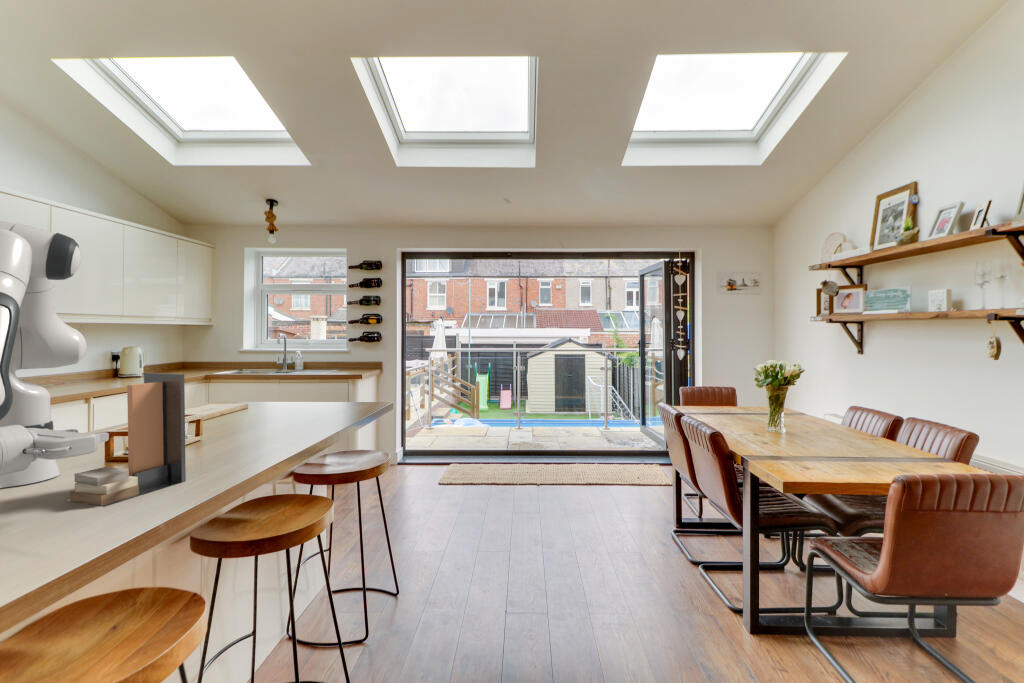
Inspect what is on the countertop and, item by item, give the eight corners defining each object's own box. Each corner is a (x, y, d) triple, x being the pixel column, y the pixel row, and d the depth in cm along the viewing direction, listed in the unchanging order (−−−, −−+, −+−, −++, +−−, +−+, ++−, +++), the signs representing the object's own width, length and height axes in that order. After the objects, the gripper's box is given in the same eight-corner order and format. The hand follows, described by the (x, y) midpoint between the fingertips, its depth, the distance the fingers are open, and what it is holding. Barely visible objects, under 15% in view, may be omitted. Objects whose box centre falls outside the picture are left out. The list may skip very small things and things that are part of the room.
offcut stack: (101, 505, 102) (101, 479, 102) (70, 500, 105) (69, 474, 105) (139, 493, 110) (139, 469, 110) (109, 489, 113) (109, 465, 113)
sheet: (133, 489, 113) (132, 385, 112) (128, 489, 113) (127, 385, 112) (163, 481, 119) (162, 382, 119) (158, 480, 120) (157, 382, 119)
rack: (104, 513, 102) (102, 381, 101) (65, 507, 106) (63, 379, 105) (185, 487, 119) (184, 374, 118) (149, 482, 123) (148, 372, 122)
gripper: (44, 436, 88) (125, 423, 102) (-26, 429, 95) (59, 416, 108) (45, 471, 89) (126, 453, 102) (-26, 461, 95) (59, 445, 108)
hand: (91, 434), depth 105 cm, fingers open, 8 cm apart
